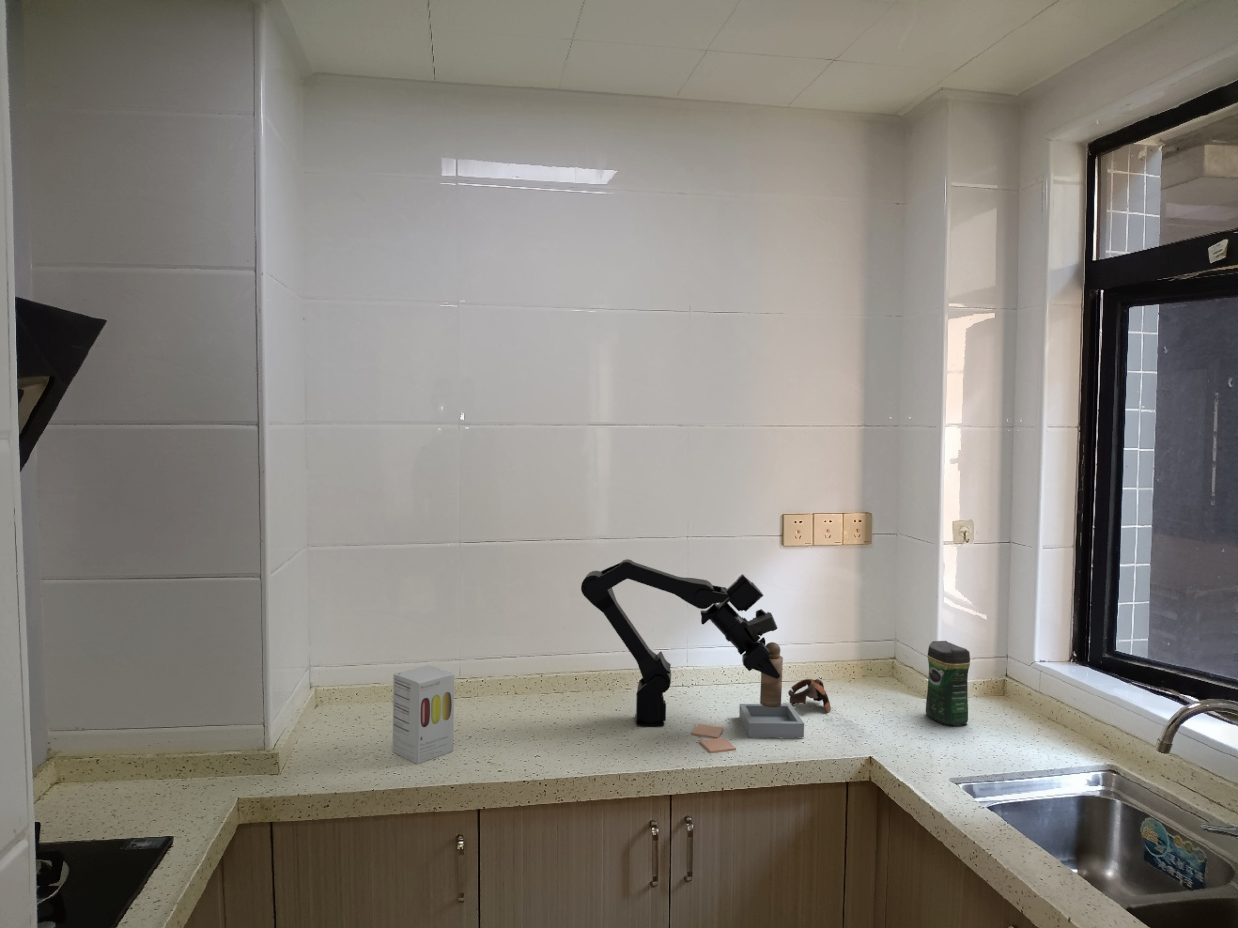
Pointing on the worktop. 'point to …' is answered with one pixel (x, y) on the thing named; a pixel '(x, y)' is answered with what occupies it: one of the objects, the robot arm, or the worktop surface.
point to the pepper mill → (772, 679)
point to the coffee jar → (948, 683)
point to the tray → (771, 721)
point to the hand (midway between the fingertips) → (777, 673)
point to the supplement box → (423, 713)
